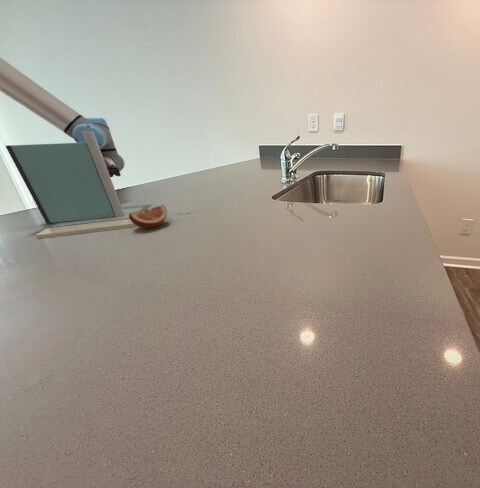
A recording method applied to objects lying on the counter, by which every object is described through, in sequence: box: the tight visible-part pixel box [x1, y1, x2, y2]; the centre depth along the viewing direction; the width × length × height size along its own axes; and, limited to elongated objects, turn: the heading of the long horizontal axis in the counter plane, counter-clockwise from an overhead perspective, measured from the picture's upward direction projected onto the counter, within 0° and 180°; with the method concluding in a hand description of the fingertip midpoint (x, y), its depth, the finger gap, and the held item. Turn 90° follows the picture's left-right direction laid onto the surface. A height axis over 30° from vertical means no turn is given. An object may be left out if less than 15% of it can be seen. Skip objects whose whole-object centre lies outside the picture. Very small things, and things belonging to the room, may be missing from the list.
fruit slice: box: [128, 204, 168, 229], centre depth 66 cm, size 8×7×5 cm
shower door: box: [5, 142, 116, 224], centre depth 69 cm, size 15×9×19 cm, turn 109°
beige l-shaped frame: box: [35, 131, 136, 240], centre depth 66 cm, size 20×16×23 cm
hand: (66, 179), depth 71 cm, fingers open, 13 cm apart
